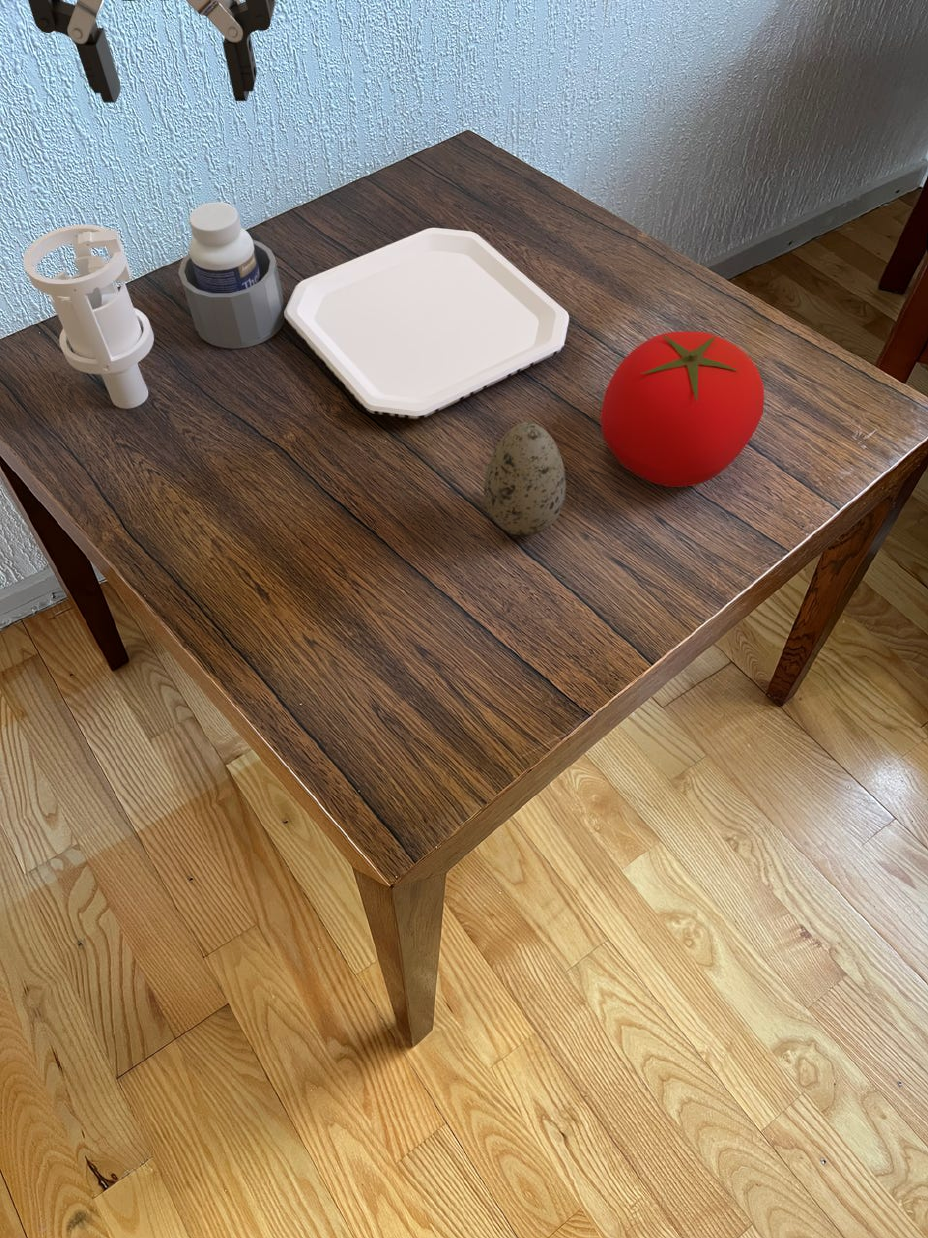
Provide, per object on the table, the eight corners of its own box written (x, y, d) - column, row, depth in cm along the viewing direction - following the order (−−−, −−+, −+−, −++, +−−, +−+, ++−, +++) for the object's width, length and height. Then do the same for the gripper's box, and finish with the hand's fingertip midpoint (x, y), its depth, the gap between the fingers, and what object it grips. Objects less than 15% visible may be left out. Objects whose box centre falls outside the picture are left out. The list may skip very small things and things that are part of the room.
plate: (590, 351, 84) (592, 330, 82) (389, 449, 78) (387, 430, 76) (457, 234, 93) (457, 213, 92) (270, 313, 87) (265, 293, 85)
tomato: (569, 469, 76) (581, 366, 67) (649, 384, 81) (669, 278, 73) (694, 535, 72) (723, 435, 63) (769, 441, 78) (806, 336, 69)
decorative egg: (558, 492, 75) (569, 396, 66) (564, 552, 71) (576, 459, 63) (482, 494, 75) (483, 398, 66) (485, 554, 71) (486, 461, 63)
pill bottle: (264, 333, 85) (241, 235, 77) (203, 333, 85) (174, 235, 77) (271, 294, 88) (250, 196, 80) (213, 294, 88) (186, 196, 80)
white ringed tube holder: (173, 418, 80) (116, 261, 67) (87, 431, 79) (14, 275, 67) (170, 362, 84) (116, 204, 71) (88, 374, 83) (19, 217, 71)
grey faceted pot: (187, 349, 85) (171, 296, 80) (202, 289, 89) (187, 237, 85) (280, 348, 85) (268, 296, 80) (290, 289, 89) (280, 236, 85)
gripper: (244, -251, 51) (292, 66, 64) (-22, -247, 51) (82, 67, 65) (223, -201, 47) (279, 126, 60) (-67, -198, 47) (54, 128, 60)
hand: (177, 95), depth 62 cm, fingers open, 8 cm apart
